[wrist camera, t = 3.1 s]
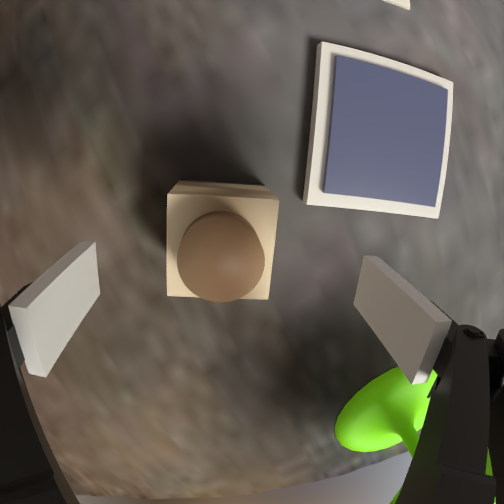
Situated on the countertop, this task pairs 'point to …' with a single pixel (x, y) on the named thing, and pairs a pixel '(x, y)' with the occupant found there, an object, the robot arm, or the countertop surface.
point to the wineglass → (387, 415)
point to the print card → (400, 3)
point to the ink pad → (377, 134)
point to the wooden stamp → (220, 240)
